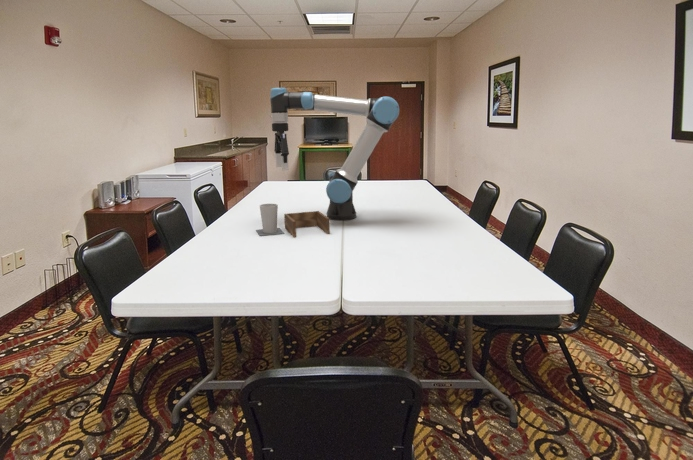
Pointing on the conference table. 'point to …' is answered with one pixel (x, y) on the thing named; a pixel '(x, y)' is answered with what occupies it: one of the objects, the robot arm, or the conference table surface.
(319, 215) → the three-sided wooden box
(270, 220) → the cup
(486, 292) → the conference table surface
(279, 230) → the mat
